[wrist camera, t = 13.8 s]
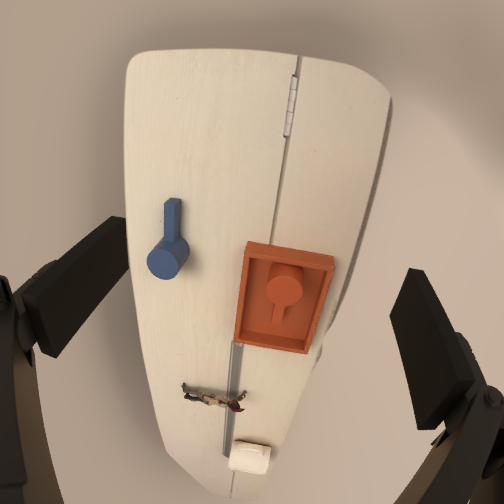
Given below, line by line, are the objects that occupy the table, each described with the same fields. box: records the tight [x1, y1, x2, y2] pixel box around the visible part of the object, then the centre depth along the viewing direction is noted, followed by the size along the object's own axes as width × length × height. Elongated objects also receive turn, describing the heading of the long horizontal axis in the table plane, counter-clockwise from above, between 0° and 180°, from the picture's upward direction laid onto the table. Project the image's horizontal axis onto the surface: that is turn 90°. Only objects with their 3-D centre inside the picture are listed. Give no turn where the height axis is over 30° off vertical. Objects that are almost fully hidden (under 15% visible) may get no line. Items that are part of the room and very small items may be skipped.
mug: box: [228, 441, 271, 475], centre depth 68 cm, size 12×9×8 cm
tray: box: [233, 241, 335, 354], centre depth 48 cm, size 17×12×3 cm
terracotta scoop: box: [266, 262, 303, 325], centre depth 46 cm, size 10×5×5 cm, turn 173°
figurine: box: [181, 383, 247, 412], centre depth 60 cm, size 6×4×15 cm
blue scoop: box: [147, 198, 190, 280], centre depth 45 cm, size 10×5×5 cm, turn 173°
